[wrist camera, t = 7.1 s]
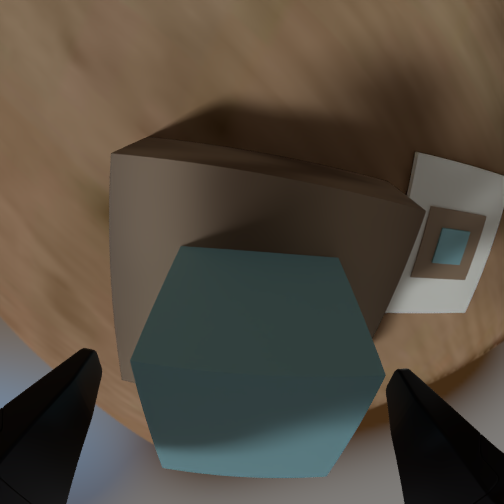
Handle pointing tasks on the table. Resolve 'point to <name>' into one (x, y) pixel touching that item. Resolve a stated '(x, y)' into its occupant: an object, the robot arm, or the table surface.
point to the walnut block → (247, 222)
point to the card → (448, 235)
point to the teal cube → (254, 364)
